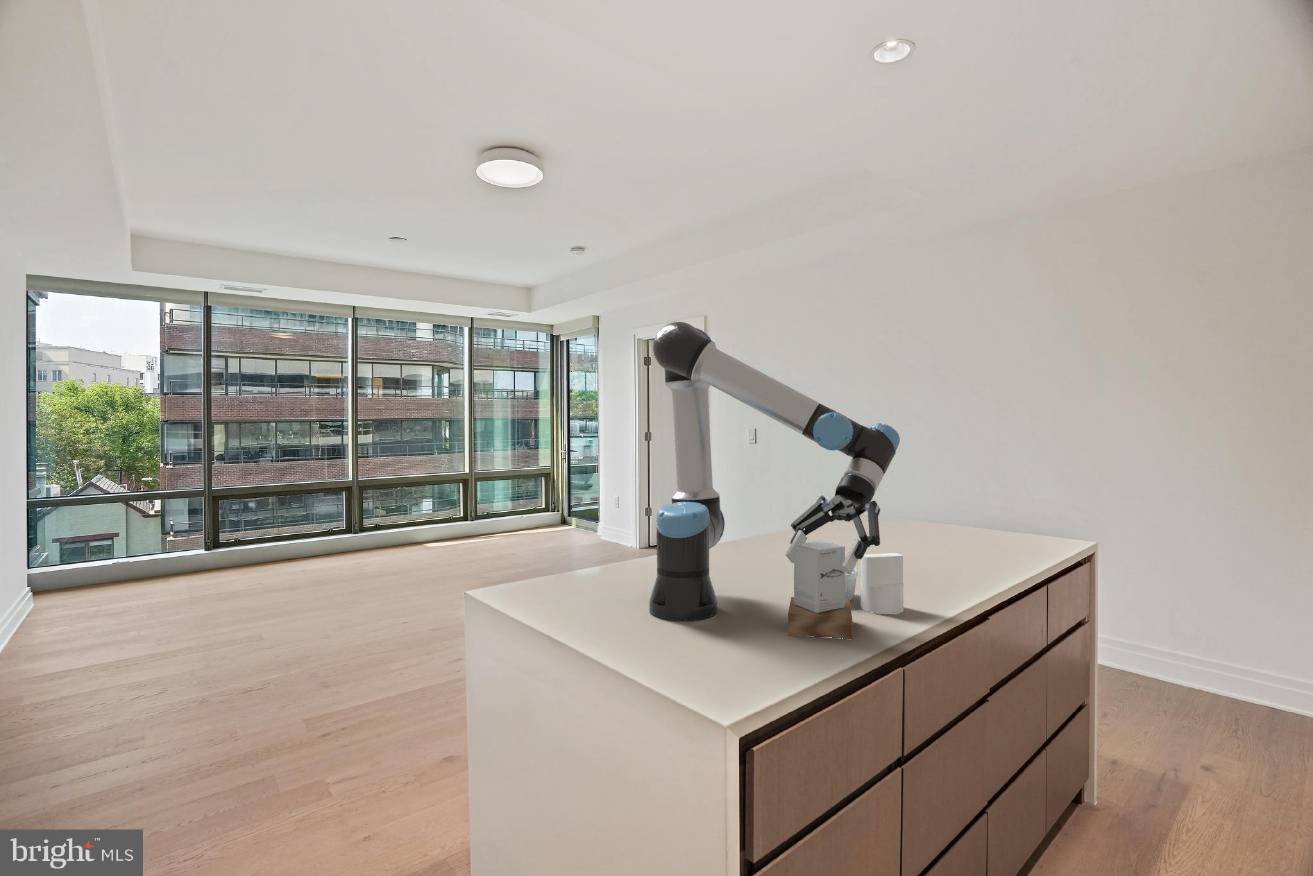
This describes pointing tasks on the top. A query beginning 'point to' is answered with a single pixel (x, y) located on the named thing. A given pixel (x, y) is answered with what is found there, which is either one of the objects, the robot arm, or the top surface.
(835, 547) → the supplement box
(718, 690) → the top surface
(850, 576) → the ramekin
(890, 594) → the cylinder with rectangular tab
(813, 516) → the robot arm
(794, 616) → the walnut block
